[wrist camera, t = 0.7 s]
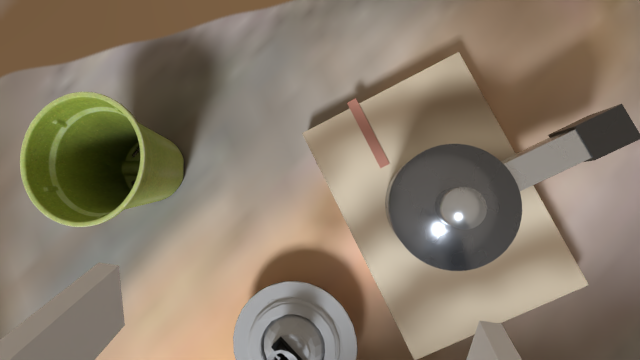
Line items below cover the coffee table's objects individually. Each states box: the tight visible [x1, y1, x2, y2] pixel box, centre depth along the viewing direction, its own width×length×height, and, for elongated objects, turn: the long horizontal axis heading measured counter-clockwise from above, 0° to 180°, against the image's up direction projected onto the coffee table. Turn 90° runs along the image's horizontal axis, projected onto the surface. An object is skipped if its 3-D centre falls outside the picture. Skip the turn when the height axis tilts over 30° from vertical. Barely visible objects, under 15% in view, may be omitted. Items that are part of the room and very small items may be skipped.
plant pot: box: [20, 92, 184, 227], centre depth 28 cm, size 9×9×9 cm
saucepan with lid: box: [385, 104, 640, 271], centre depth 23 cm, size 16×8×7 cm, turn 116°
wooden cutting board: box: [302, 52, 588, 360], centre depth 28 cm, size 20×14×2 cm
